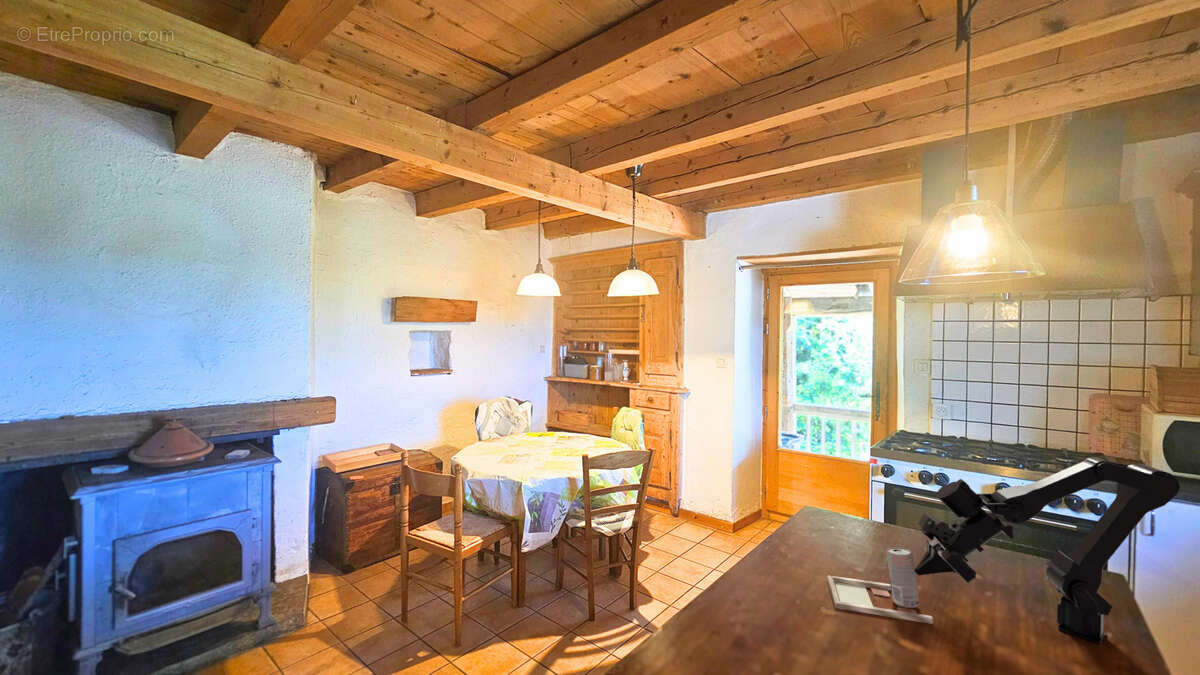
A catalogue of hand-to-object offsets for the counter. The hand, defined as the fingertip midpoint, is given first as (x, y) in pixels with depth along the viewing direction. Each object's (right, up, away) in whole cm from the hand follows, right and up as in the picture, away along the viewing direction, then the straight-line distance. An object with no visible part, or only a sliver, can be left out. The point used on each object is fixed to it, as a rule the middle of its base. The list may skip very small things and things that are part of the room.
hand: (916, 573), depth 116 cm
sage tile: (-13, -8, +4) cm, 15 cm away
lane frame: (-8, -8, +3) cm, 11 cm away
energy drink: (-2, -8, +1) cm, 8 cm away
